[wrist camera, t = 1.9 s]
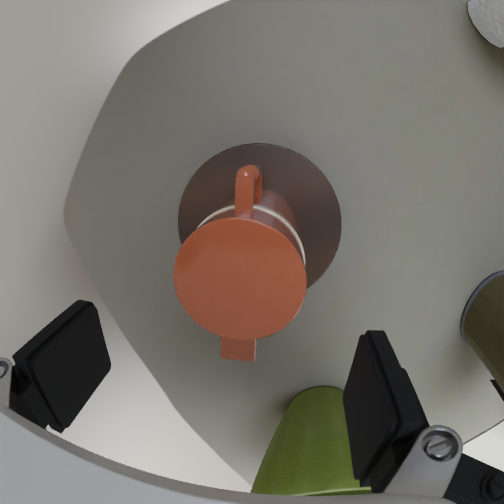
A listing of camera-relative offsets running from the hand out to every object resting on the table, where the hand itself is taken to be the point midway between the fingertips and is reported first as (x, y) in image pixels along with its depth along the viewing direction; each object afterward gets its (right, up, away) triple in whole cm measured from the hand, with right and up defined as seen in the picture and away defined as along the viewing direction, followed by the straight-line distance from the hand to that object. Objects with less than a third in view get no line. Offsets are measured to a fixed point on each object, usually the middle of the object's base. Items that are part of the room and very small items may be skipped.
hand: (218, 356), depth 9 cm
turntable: (+2, +6, +16) cm, 18 cm away
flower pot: (+10, -16, +23) cm, 30 cm away
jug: (+2, +6, +15) cm, 16 cm away
